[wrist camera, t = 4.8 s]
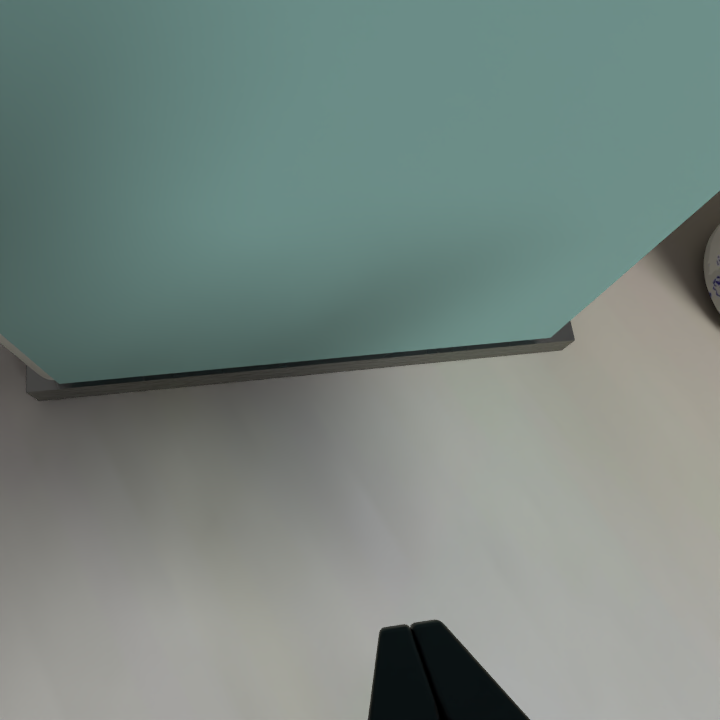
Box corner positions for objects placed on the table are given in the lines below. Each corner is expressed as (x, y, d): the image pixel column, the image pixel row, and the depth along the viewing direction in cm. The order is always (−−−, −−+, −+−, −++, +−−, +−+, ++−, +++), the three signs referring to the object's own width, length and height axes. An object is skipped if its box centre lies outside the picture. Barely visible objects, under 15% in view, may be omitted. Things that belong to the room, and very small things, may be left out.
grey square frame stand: (561, 350, 22) (1273, -211, 6) (38, 400, 20) (-928, -284, 4) (497, 66, 25) (866, -790, 9) (38, 81, 23) (-503, -1020, 7)
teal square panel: (549, 338, 20) (991, -45, 8) (39, 386, 18) (-497, -30, 6) (542, 307, 21) (957, -111, 8) (40, 350, 19) (-474, -121, 6)
